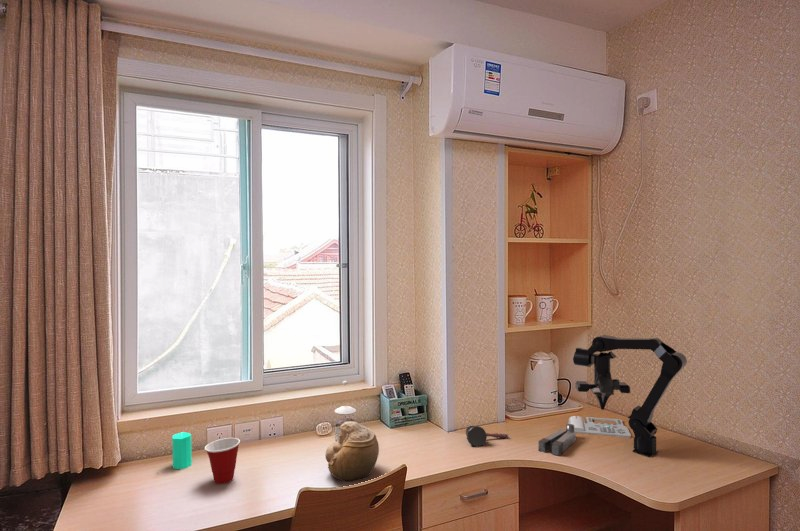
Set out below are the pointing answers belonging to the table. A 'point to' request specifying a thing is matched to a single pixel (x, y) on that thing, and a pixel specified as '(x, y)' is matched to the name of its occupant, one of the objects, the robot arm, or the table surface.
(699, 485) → the table surface
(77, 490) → the table surface
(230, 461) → the plastic cup
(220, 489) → the table surface
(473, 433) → the black mallet
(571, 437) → the bar
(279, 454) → the table surface
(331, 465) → the buddha statue
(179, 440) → the candle
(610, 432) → the office telephone
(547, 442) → the tongs fixed
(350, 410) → the french press
